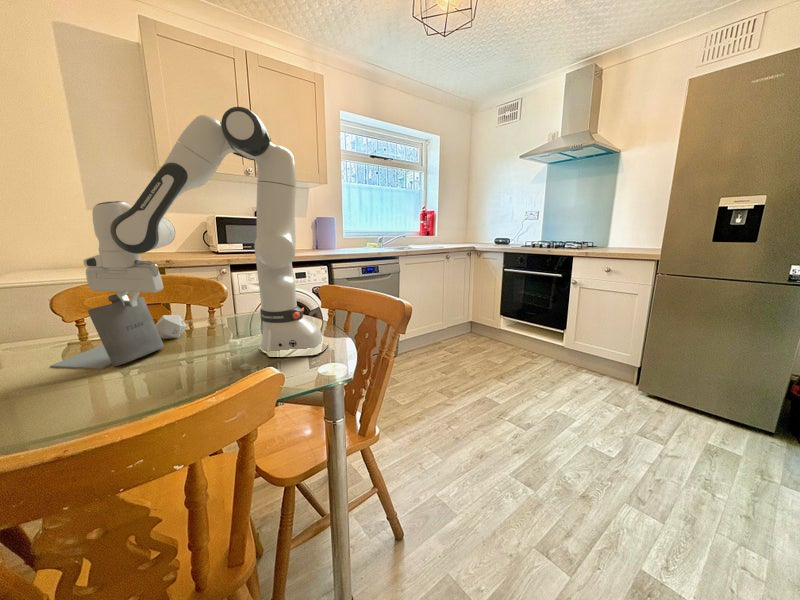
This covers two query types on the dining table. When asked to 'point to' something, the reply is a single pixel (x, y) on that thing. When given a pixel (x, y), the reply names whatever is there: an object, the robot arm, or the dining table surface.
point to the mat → (87, 360)
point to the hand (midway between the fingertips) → (130, 306)
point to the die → (170, 326)
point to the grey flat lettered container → (126, 330)
